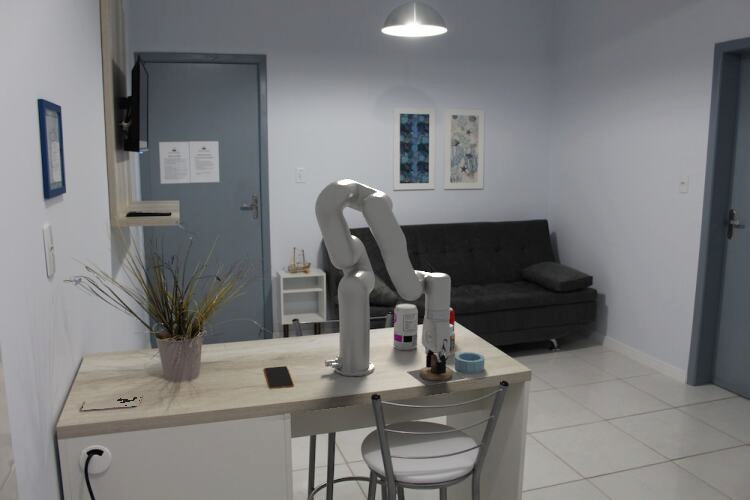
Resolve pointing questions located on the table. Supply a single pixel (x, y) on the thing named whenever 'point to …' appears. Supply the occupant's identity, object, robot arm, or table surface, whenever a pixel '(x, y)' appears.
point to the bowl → (469, 362)
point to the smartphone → (278, 377)
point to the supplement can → (405, 326)
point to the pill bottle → (451, 340)
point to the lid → (434, 372)
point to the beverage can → (452, 317)
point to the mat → (427, 382)
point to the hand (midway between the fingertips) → (435, 369)
